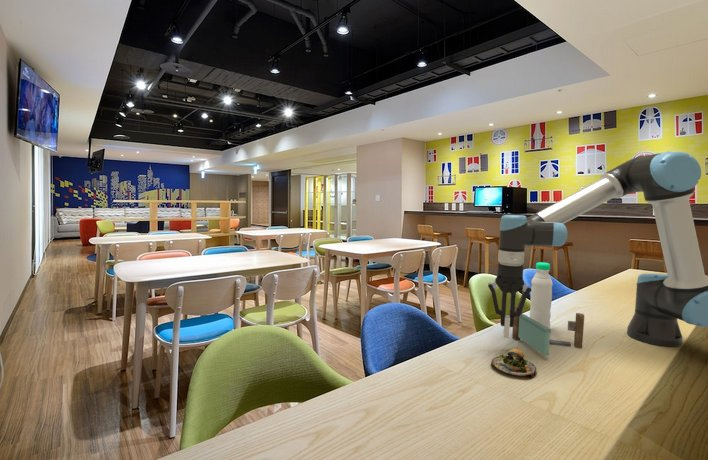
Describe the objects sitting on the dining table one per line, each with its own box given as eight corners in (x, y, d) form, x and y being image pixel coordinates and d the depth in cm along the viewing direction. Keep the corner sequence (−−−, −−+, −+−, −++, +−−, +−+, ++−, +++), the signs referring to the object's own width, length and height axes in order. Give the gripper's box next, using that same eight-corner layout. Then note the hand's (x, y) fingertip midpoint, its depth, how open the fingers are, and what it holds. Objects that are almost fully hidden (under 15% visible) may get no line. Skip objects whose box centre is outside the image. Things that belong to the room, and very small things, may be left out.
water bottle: (552, 332, 134) (556, 265, 131) (531, 331, 135) (535, 264, 133) (546, 326, 141) (550, 261, 138) (526, 324, 142) (530, 260, 140)
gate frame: (579, 343, 124) (581, 311, 123) (582, 348, 120) (584, 315, 119) (511, 335, 131) (513, 305, 130) (512, 339, 127) (514, 308, 126)
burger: (482, 364, 108) (483, 340, 107) (512, 358, 113) (513, 334, 112) (514, 384, 97) (516, 357, 96) (546, 376, 102) (548, 350, 101)
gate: (517, 337, 125) (519, 314, 124) (522, 336, 125) (524, 314, 125) (543, 355, 111) (545, 329, 110) (549, 354, 111) (550, 329, 110)
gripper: (488, 264, 115) (484, 337, 117) (535, 267, 110) (529, 343, 113) (488, 260, 122) (484, 329, 124) (531, 263, 117) (526, 334, 120)
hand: (506, 335), depth 118 cm, fingers closed
